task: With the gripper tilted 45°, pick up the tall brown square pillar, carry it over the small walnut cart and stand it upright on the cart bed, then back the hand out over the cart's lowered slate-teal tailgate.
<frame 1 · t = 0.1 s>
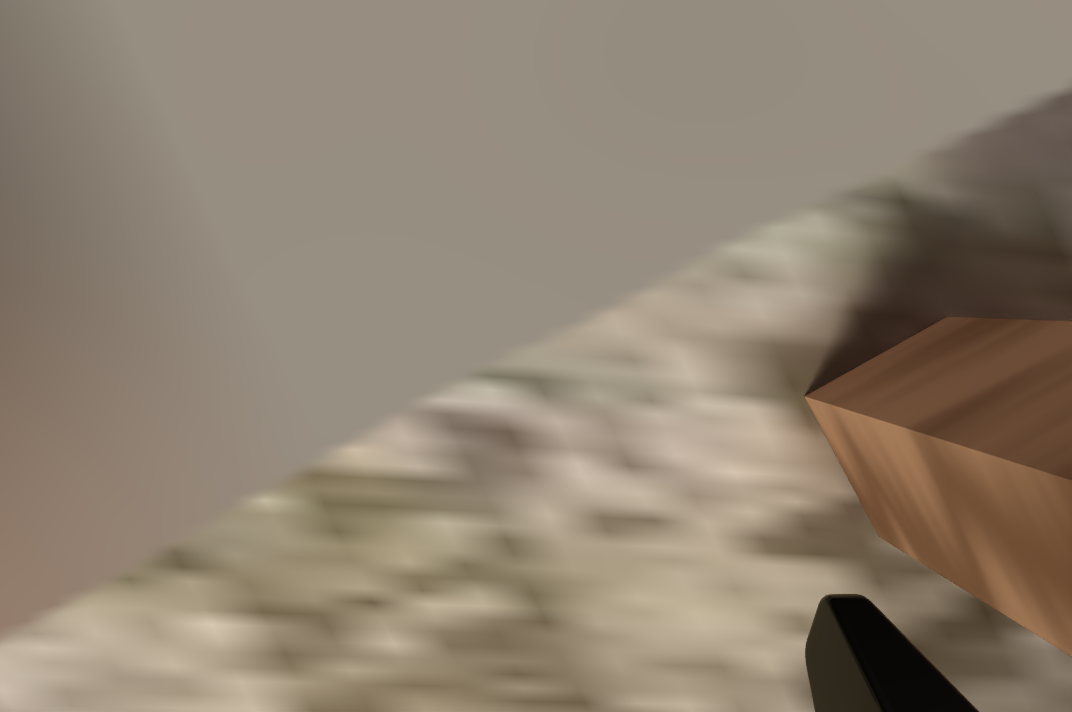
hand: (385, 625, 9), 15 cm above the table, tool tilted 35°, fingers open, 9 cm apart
brown square pillar: (912, 427, 24), on the table
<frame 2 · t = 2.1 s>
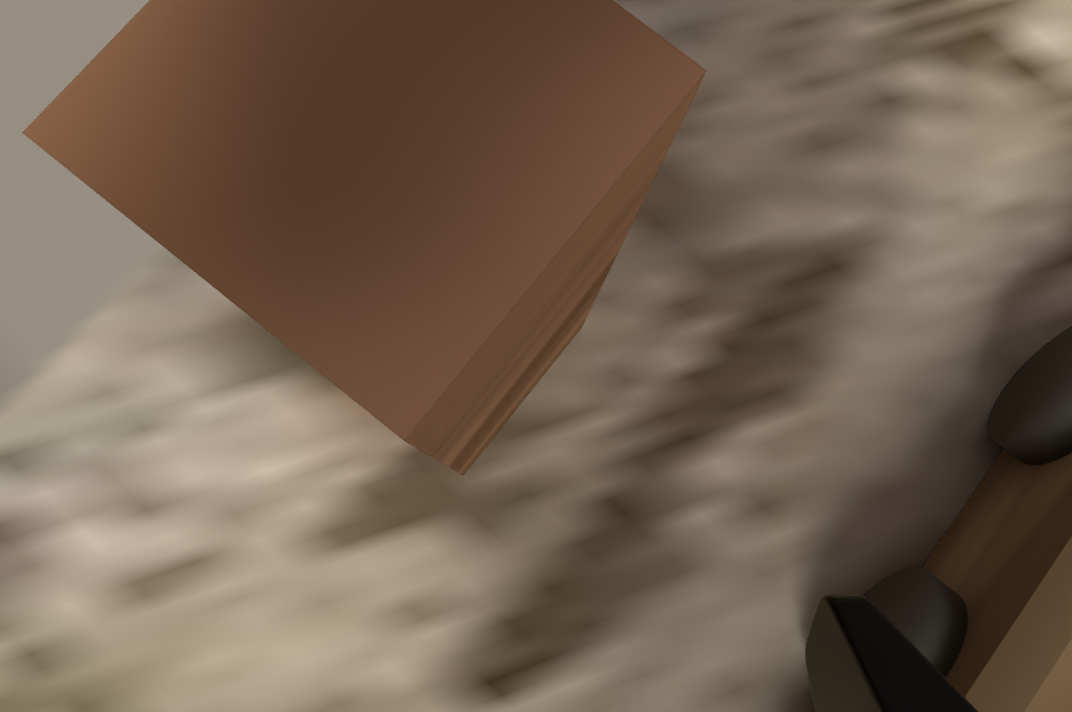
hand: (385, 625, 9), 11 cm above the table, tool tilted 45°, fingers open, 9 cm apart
brown square pillar: (449, 341, 21), on the table
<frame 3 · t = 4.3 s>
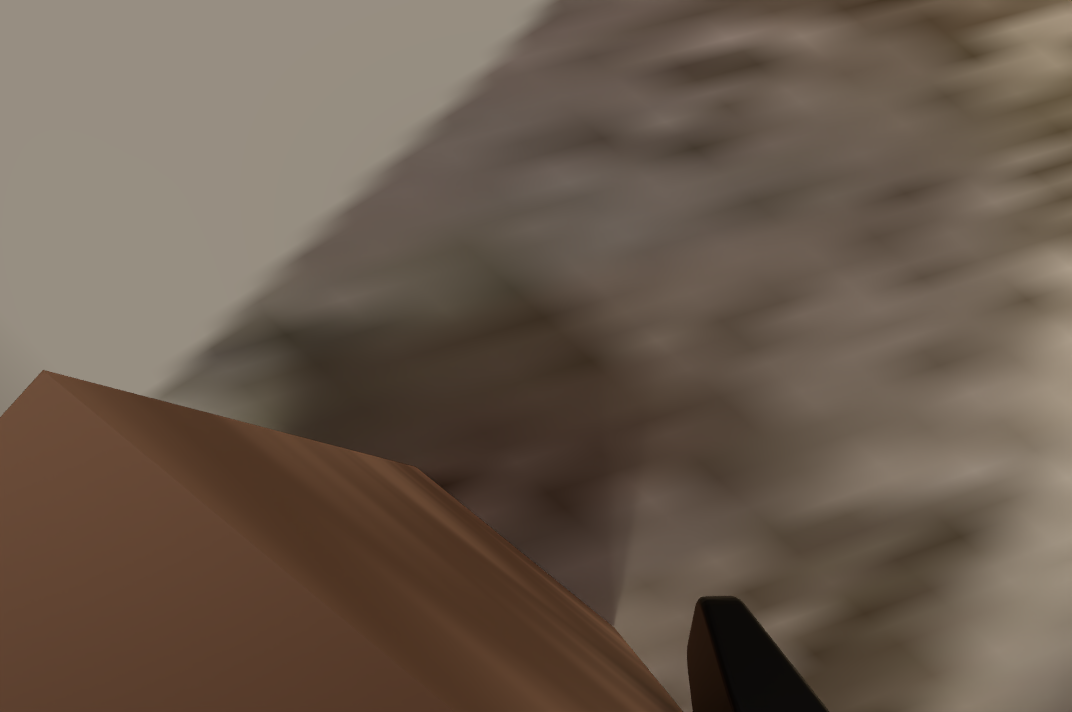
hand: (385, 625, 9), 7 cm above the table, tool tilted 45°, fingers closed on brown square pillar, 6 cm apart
brown square pillar: (433, 650, 15), on the table, touching gripper
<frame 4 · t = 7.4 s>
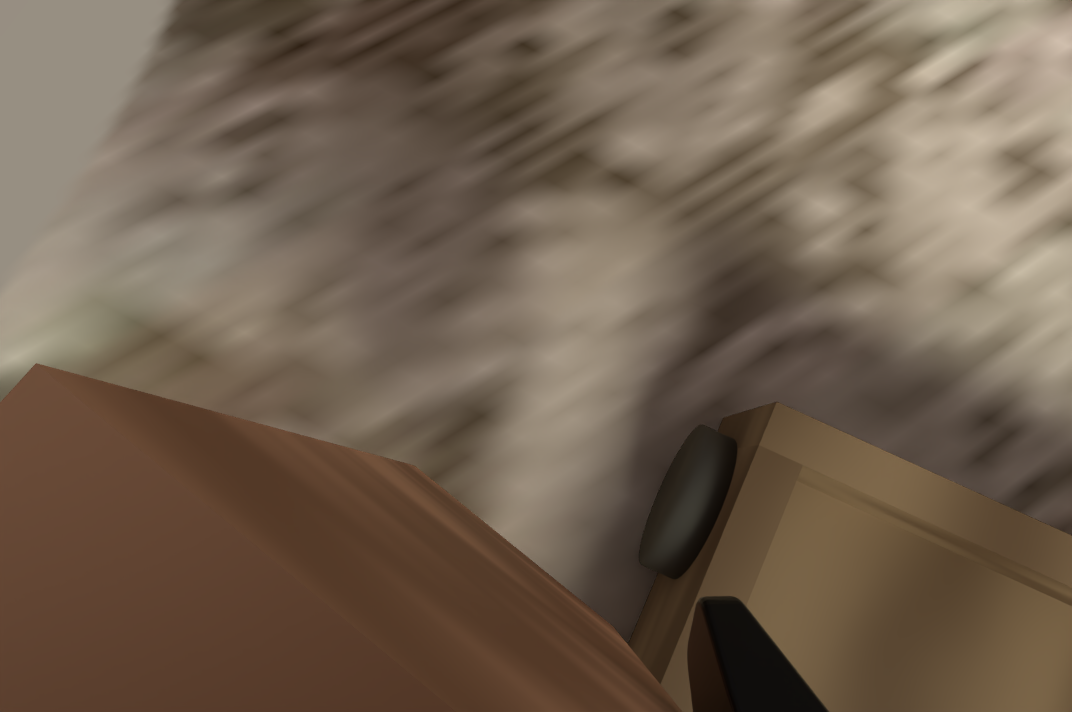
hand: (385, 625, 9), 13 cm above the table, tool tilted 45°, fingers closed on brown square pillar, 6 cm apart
brown square pillar: (431, 649, 15), point 7 cm above the table, touching gripper
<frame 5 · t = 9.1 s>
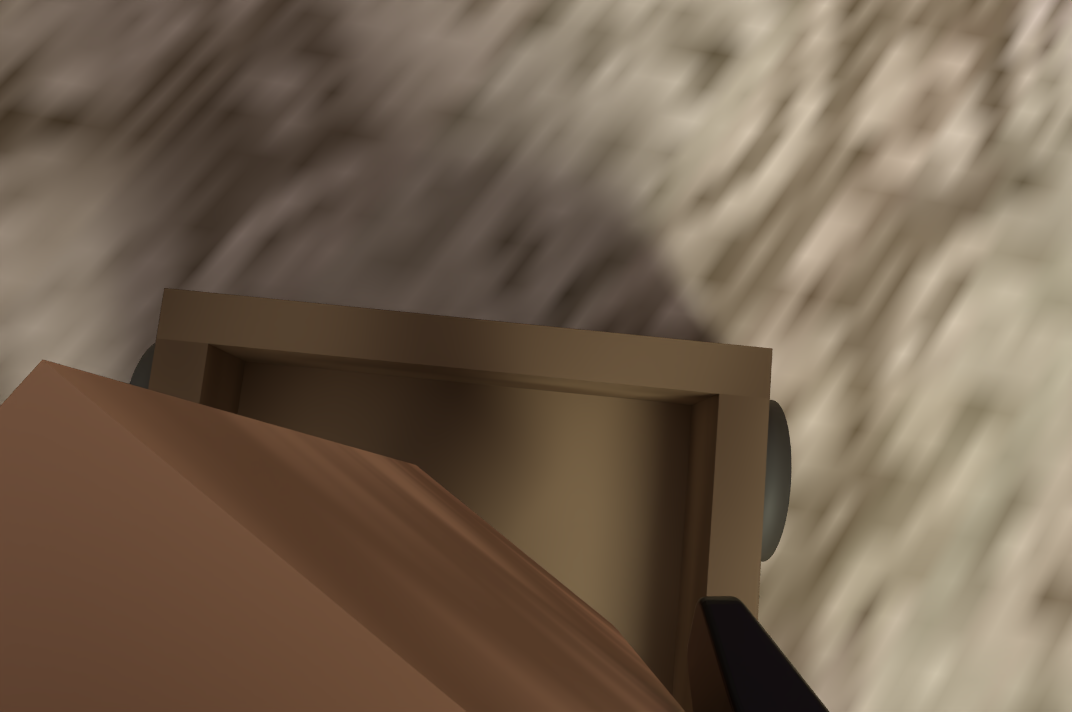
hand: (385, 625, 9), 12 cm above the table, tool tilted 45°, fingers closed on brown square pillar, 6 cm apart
cart: (450, 601, 21), on the table
brown square pillar: (433, 648, 15), point 6 cm above the table, touching gripper
when the fingers open (10 cm above the table, at t = 10.6 s): brown square pillar drops 1 cm, resting on cart.
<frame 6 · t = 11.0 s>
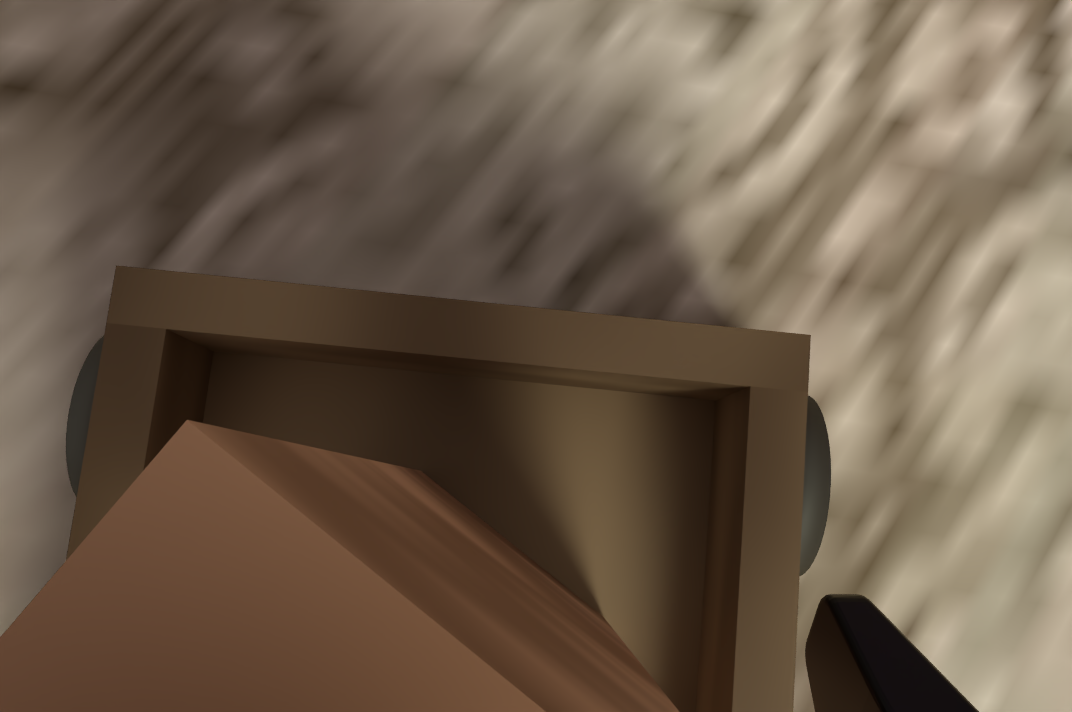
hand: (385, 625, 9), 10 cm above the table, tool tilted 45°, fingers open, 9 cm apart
cart: (445, 620, 19), on the table
brown square pillar: (437, 638, 17), point 2 cm above the table, touching cart
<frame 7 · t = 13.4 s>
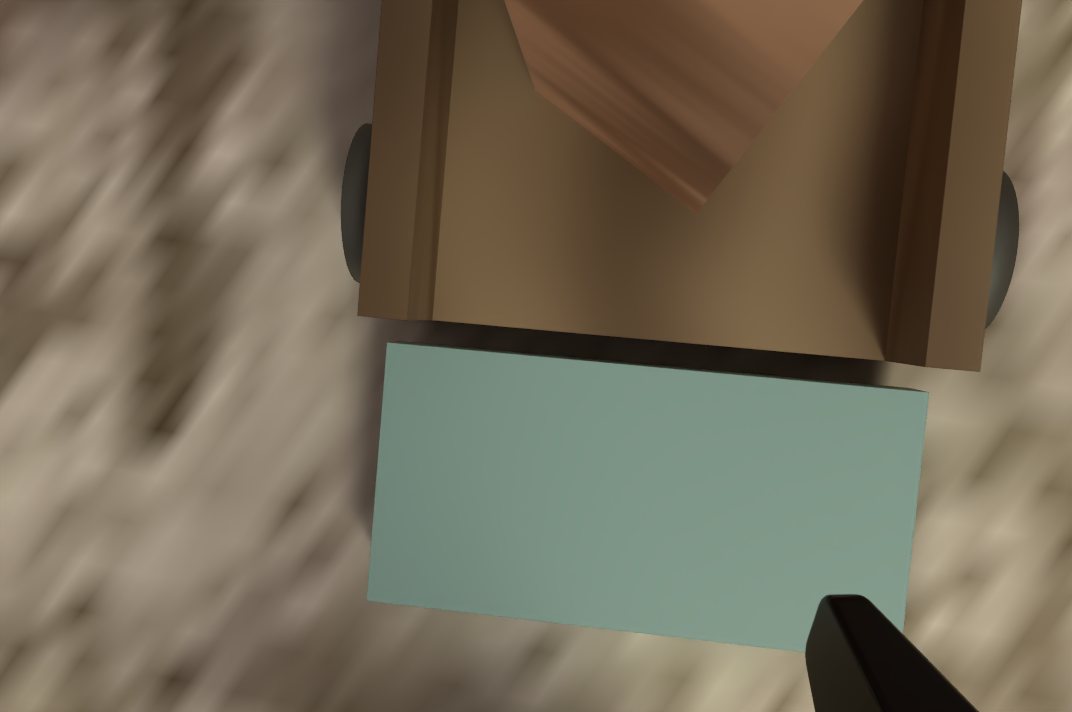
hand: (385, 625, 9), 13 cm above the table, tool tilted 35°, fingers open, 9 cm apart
tailgate: (637, 494, 20), point 1 cm above the table, hinge at 0.0°
cart: (673, 90, 21), on the table
brown square pillar: (678, 68, 19), point 2 cm above the table, touching cart
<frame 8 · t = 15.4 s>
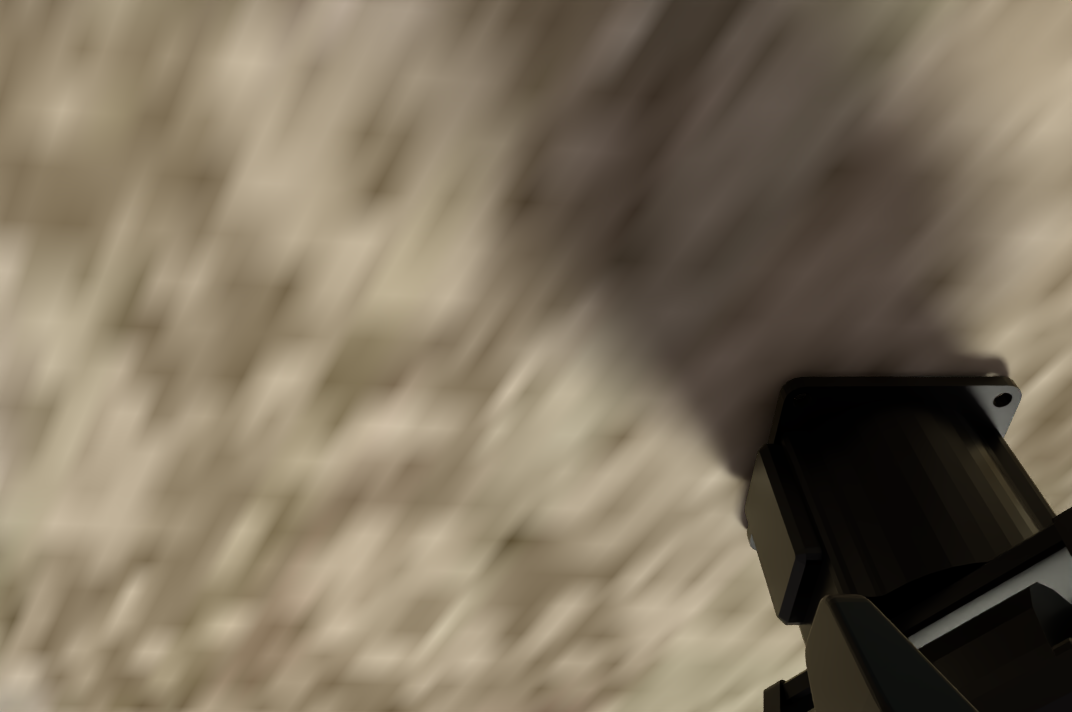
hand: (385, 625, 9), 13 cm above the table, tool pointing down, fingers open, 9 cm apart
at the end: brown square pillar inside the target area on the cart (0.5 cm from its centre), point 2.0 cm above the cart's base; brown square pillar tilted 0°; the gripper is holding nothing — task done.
